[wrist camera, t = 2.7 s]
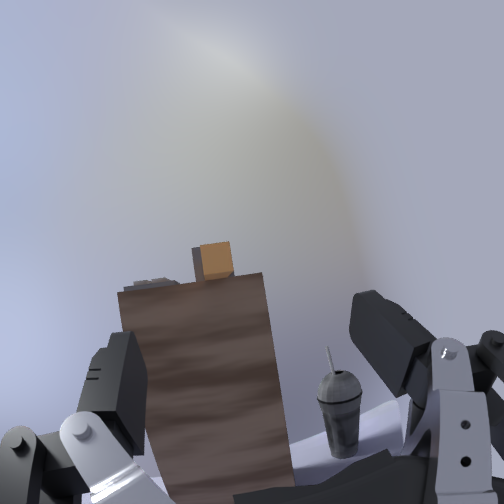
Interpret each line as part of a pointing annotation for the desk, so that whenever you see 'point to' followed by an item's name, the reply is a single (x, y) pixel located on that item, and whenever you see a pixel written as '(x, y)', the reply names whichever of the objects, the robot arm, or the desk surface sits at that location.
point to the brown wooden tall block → (210, 386)
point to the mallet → (212, 261)
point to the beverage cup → (340, 410)
